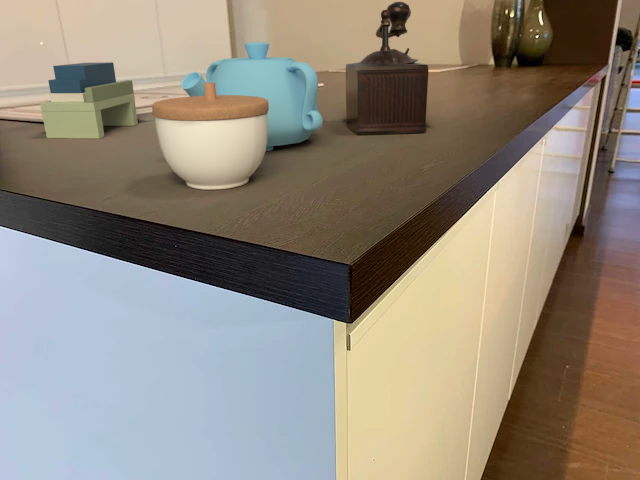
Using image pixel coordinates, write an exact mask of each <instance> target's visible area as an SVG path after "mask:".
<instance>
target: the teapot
mask: <svg viewBox="0 0 640 480" xmlns="http://www.w3.org/2000/svg"><path fill="white" fill-rule="evenodd" d="M243 45H244V49H245V52H246V54H247V56H248V57H232V58H223V59H221V60H220V59H219V60H216V61H213V62H212V63H210V64H209V65H208V66H207V68H206V74H205V76H206V77H205V78H206V80H205V79H204V77H203V75H201V73H200V72H198V71H193V72H190V73H188V74H187V75H186V76H184V78H183V79H182V81H181V82H180V83H181V84H180V86H181V88H182V89H183V90H184V92H186V94H187V95H188V97H191V96H205V90H204V83H215V87H216V95H241V96H255V97H261V98H265V99H267V100H268V104H269V111H268V140H267V146H266V152H269V151H273V150H274V147H275V146H277V147H278V146H285V145H291V144H300V143H302V142H304V141H306V140H308V139H309V138H310V137H311V135H312V134H313V133H314V132H317V131H319V130H320V129H321V127H322V126H323V123H324V122H323V117H322V114H321V113H320V110H319V105H318V101H317V96H318V92H319V78H318V75H317V72H316V70H315V69H314V67H312V66H311V65H310V64H308V63H306V62H303V61H296V60H295V59H293V57H288V56H287V57H285V56H281V57H280V56H267V55H268V52H269V48H270V43H269V42H264V41H254V42H253V41H252V42H246V43H244V44H243Z"/></svg>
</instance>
